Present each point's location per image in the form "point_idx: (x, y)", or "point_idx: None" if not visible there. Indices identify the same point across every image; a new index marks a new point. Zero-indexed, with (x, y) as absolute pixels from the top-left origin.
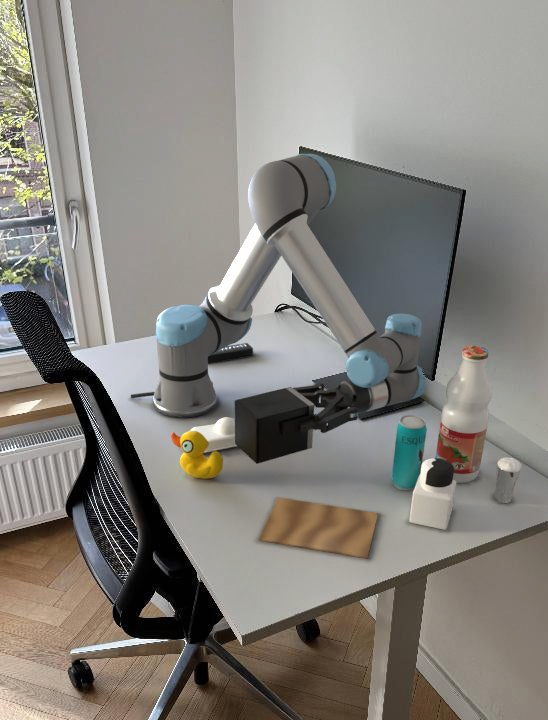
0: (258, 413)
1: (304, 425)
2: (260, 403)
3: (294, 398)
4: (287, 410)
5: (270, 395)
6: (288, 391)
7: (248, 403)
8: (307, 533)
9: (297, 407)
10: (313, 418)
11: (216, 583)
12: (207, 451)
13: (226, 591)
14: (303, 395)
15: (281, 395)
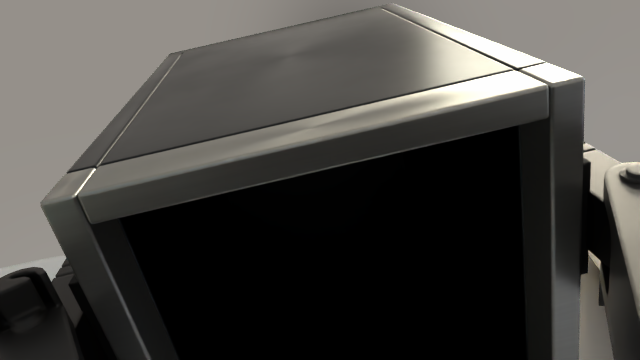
0: (213, 49)
1: (67, 261)
2: (310, 38)
3: (279, 108)
4: (138, 98)
5: (399, 40)
6: (446, 77)
7: (333, 22)
8: None
9: (121, 124)
10: (47, 302)
11: (42, 261)
12: (599, 266)
13: (9, 272)
14: (638, 305)
15: (378, 65)
